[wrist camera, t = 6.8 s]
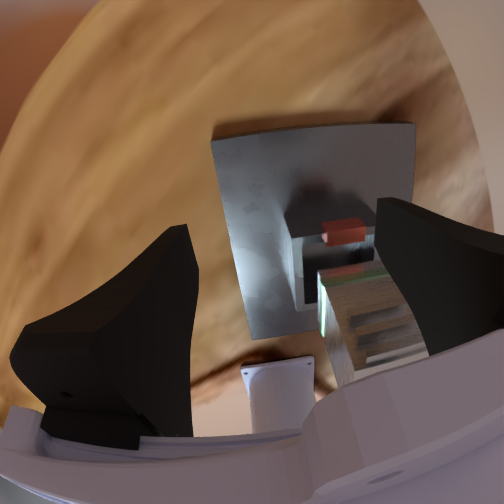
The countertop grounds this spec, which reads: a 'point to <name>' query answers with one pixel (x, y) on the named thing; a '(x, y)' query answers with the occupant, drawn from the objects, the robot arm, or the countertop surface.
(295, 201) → the jack base
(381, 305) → the grooved grey block
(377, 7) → the countertop surface
